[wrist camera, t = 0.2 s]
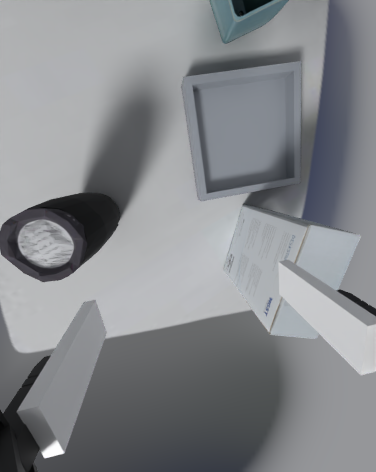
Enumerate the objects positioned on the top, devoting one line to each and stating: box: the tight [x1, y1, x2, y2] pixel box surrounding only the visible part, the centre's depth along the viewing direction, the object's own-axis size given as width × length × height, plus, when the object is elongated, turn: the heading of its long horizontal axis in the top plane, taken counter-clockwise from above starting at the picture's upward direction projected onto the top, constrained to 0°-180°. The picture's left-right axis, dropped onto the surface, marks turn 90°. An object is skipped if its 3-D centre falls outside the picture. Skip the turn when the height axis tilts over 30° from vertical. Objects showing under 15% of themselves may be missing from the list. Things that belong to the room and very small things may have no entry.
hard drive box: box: [224, 205, 361, 339], centre depth 35 cm, size 16×8×20 cm, turn 167°
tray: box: [181, 61, 301, 201], centre depth 36 cm, size 19×19×4 cm
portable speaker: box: [0, 193, 120, 282], centre depth 29 cm, size 9×9×20 cm
